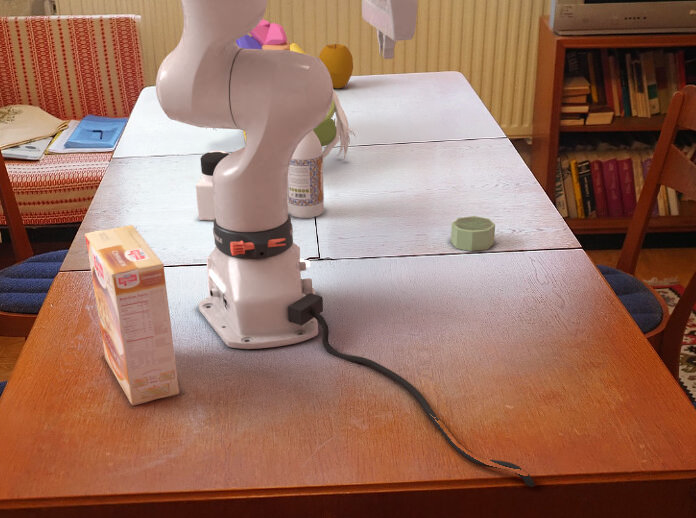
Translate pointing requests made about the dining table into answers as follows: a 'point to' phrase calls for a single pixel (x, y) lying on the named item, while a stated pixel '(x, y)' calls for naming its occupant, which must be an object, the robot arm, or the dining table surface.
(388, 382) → the dining table surface
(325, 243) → the dining table surface
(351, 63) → the apple
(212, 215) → the medicine bottle
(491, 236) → the tin
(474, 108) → the dining table surface
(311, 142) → the bath foam
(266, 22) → the colorful pinata
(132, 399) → the coffeecake box
